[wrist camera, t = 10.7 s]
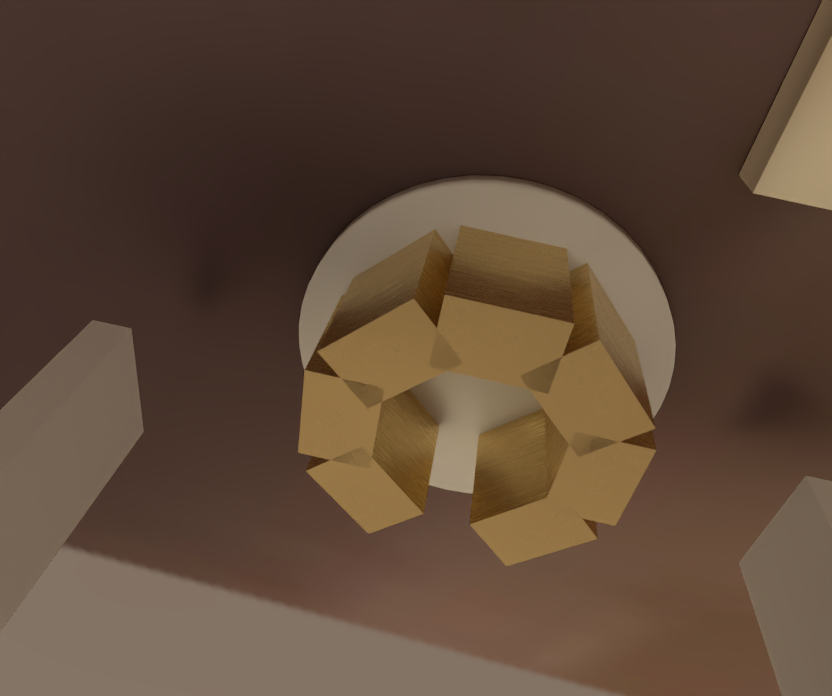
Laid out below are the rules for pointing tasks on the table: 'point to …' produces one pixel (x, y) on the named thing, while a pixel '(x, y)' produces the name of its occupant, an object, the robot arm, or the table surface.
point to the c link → (491, 360)
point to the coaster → (445, 211)
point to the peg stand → (799, 126)
